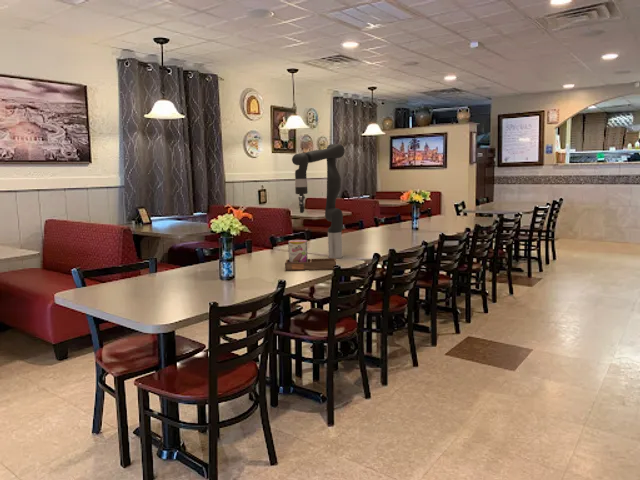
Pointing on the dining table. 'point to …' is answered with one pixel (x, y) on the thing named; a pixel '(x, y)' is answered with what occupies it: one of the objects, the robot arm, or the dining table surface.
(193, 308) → the dining table surface
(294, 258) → the candy bar box
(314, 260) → the organiser rack
